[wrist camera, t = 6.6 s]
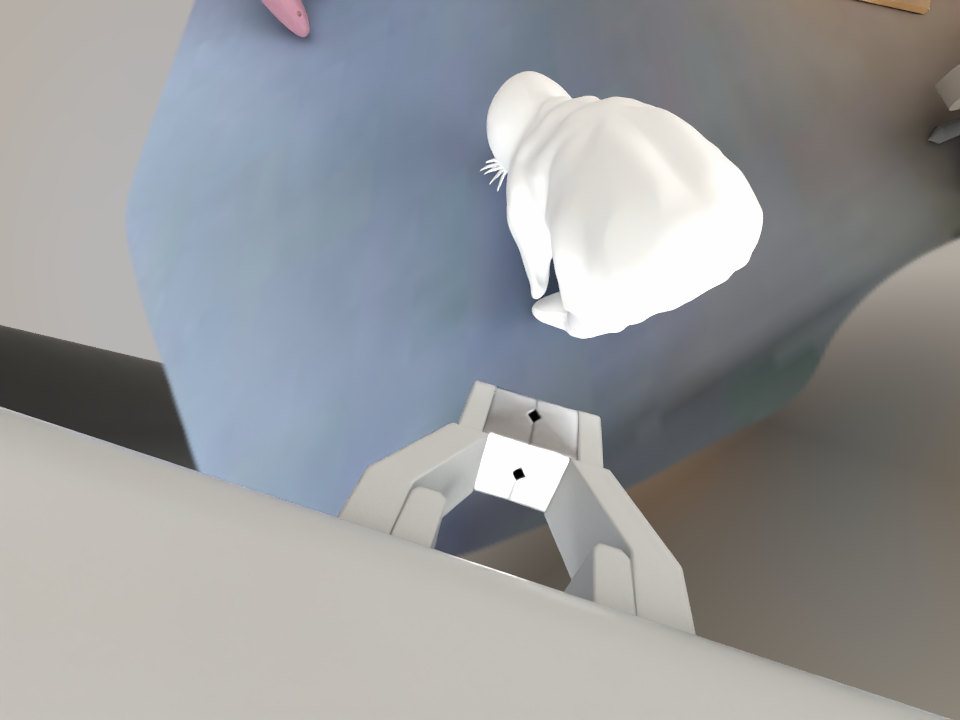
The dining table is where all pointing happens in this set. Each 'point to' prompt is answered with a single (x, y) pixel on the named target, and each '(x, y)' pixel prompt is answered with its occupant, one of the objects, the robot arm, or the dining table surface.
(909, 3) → the brass ruler
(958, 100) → the dark block with discs
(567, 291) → the white sculpture
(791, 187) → the dining table surface
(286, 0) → the pink animal figurine
